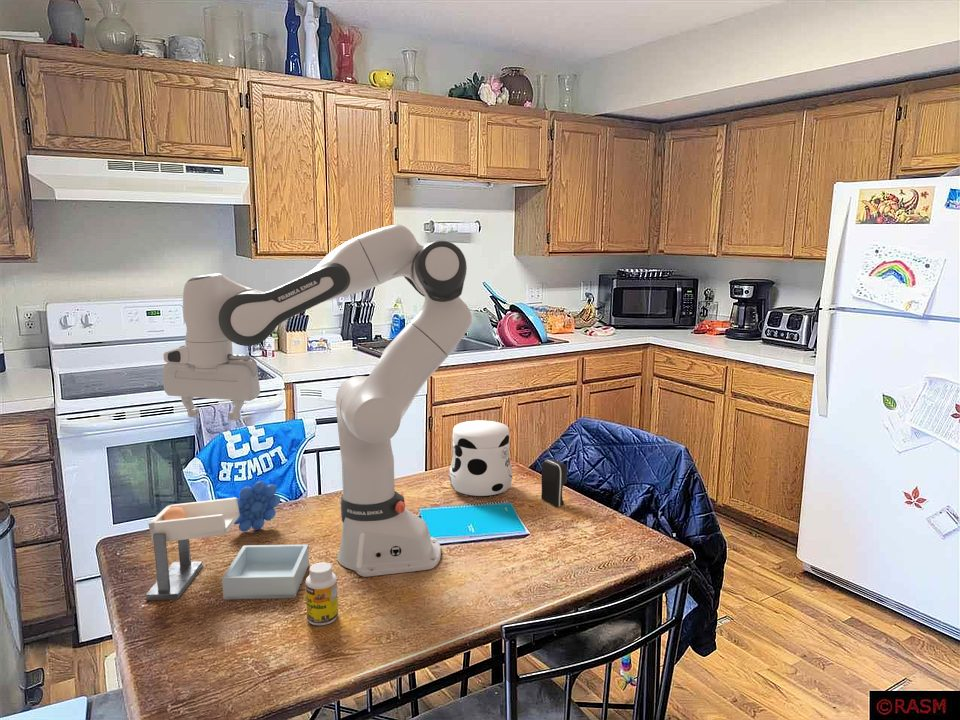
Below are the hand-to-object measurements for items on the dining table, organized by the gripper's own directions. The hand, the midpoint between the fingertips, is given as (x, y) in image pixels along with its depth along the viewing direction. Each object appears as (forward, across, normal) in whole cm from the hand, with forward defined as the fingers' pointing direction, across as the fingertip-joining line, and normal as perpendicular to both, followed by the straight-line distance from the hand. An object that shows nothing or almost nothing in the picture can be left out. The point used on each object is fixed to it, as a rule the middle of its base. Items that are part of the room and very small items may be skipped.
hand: (213, 418), depth 139 cm
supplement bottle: (+32, -31, +17) cm, 48 cm away
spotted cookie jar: (+31, -47, -50) cm, 75 cm away
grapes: (+32, +1, -15) cm, 35 cm away
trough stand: (+32, +3, +11) cm, 34 cm away
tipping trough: (+20, -1, +7) cm, 21 cm away
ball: (+17, +3, +11) cm, 21 cm away
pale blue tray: (+31, -15, +7) cm, 35 cm away
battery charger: (+31, -68, -46) cm, 88 cm away
